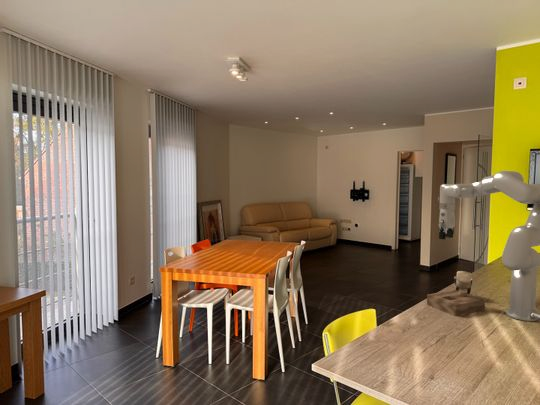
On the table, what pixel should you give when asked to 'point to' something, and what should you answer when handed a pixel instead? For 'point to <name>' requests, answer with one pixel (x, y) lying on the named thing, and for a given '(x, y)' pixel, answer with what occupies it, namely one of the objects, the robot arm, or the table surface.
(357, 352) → the table surface
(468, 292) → the coffee mug
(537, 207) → the robot arm
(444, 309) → the board
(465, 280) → the peg
